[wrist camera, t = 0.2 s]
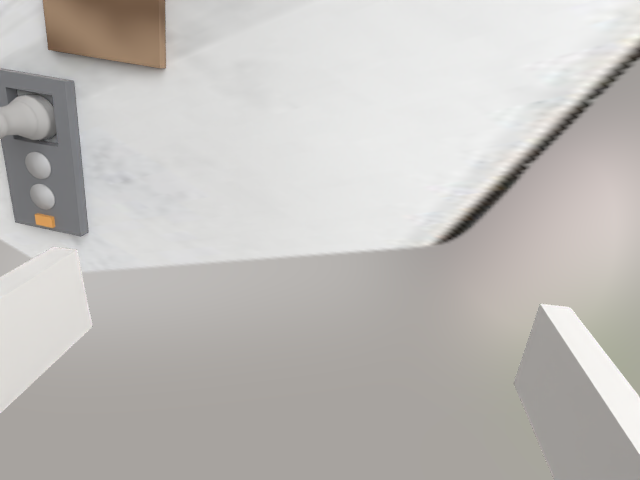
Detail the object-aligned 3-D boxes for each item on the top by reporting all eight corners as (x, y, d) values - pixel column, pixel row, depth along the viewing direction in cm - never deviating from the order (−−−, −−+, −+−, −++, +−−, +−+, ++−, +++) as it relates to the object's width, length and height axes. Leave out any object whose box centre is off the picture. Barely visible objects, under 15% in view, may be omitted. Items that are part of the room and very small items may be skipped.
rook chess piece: (27, 136, 43) (-49, 150, 36) (17, 91, 41) (-65, 96, 34) (65, 141, 42) (-4, 155, 35) (57, 95, 40) (-18, 100, 33)
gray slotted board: (-1, 68, 40) (-16, 68, 39) (73, 81, 40) (61, 81, 38) (24, 218, 47) (12, 223, 45) (88, 232, 46) (78, 237, 45)
